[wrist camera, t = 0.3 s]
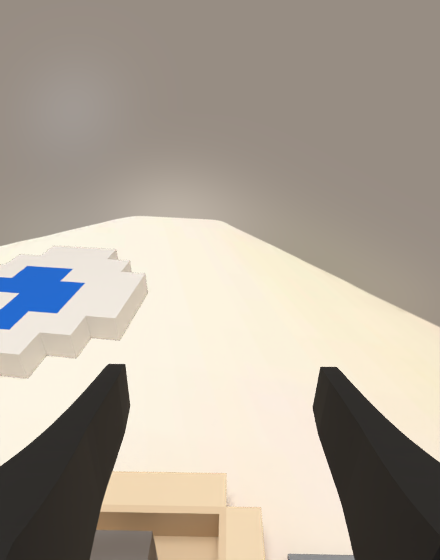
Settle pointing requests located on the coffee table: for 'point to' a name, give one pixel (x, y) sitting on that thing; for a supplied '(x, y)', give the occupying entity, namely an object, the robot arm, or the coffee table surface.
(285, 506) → the coffee table surface
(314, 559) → the slate mat
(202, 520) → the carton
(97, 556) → the walnut block
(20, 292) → the pixel art tile
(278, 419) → the coffee table surface
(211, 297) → the coffee table surface
